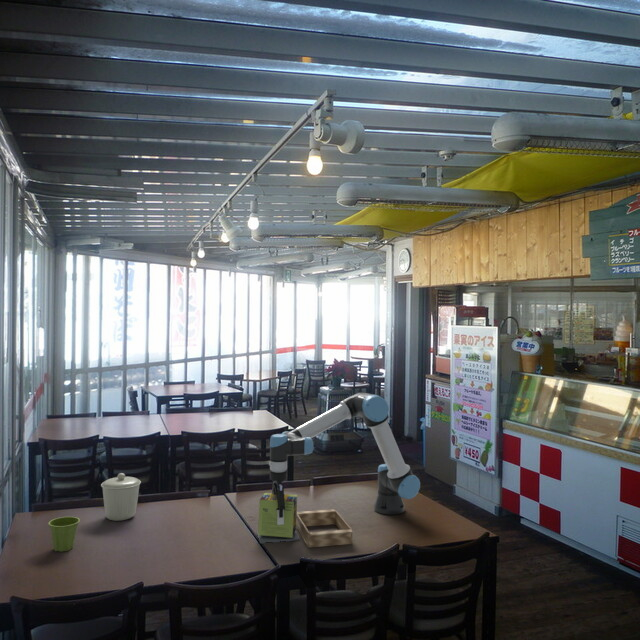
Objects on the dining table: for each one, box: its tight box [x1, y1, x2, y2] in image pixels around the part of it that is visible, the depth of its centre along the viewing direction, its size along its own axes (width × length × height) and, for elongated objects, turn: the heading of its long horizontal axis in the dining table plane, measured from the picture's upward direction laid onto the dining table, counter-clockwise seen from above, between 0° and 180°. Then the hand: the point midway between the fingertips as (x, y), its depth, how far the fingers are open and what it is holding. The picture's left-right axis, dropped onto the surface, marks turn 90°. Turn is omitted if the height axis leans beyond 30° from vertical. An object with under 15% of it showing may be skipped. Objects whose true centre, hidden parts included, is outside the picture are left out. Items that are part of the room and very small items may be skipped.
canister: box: [100, 472, 142, 522], centre depth 275 cm, size 18×18×21 cm
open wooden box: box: [296, 508, 353, 548], centre depth 255 cm, size 19×30×6 cm, turn 14°
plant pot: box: [48, 516, 81, 553], centre depth 236 cm, size 12×12×11 cm
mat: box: [256, 531, 300, 544], centre depth 252 cm, size 17×12×1 cm
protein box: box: [257, 492, 298, 538], centre depth 252 cm, size 10×15×16 cm
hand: (277, 519), depth 252 cm, fingers closed on protein box, 12 cm apart
